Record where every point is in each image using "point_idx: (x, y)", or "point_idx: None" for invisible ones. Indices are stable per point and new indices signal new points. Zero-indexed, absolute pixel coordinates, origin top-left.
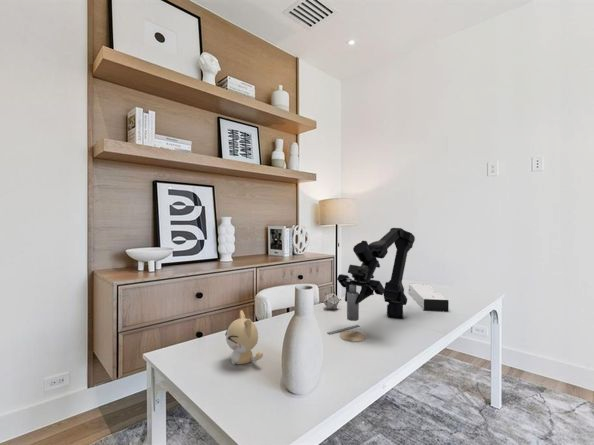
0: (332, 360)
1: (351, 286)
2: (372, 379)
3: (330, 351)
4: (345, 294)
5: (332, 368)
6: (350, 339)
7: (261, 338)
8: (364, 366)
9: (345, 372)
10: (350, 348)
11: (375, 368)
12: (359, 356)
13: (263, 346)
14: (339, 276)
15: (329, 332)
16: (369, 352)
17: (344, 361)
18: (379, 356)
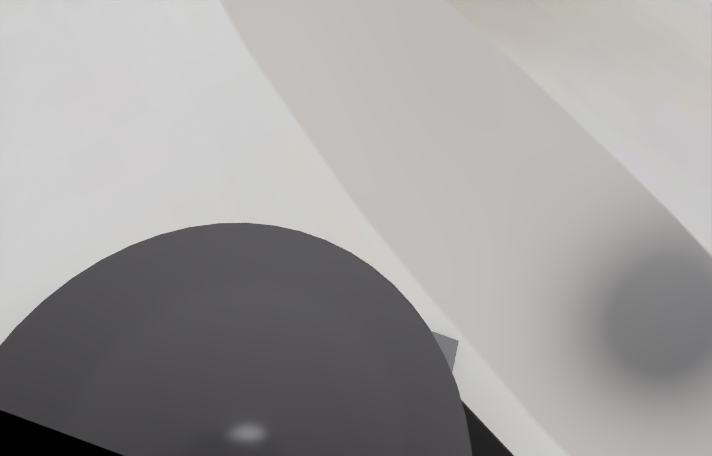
0: (235, 67)
1: (234, 236)
2: (3, 12)
3: (291, 135)
4: (478, 420)
5: (201, 15)
6: None
7: (628, 90)
8: (67, 85)
9: (136, 12)
10: (212, 222)
11: (6, 92)
12: (125, 161)
13: (552, 40)
14: None
15: (448, 352)
16: (81, 237)
17: (179, 83)
18: (5, 221)
